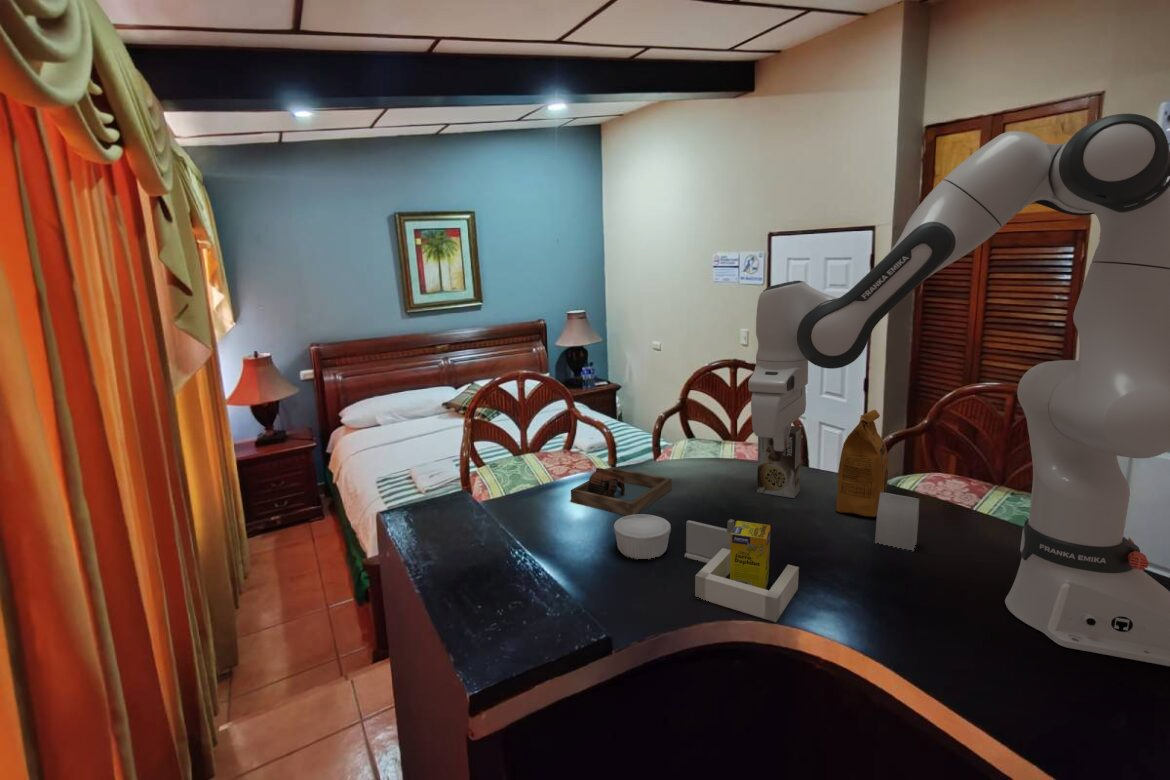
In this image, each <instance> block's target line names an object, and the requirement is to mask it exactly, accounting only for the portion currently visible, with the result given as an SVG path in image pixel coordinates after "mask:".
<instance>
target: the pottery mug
mask: <svg viewBox="0 0 1170 780" xmlns="http://www.w3.org/2000/svg"><path fill="white" fill-rule="evenodd" d="M624 479H625V477H623V476H622V475H620V474H618V473H615V472H612V471H609V469H605V468H602V467H596V469H595V472H593V473H592V474H591V475H590V477H589V479H588V481H590V482H589V484H588V489H587V490H586V491H585V492H590V493H594V494H599V495H603V496H607V497H612V498H615V494H616V492H617V489H618V488H619V489H620V495H625V492H626V485H625V482H623V481H624ZM602 482H604V484H605V485H603V486H602Z"/></svg>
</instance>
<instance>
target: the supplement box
mask: <svg viewBox="0 0 1170 780" xmlns="http://www.w3.org/2000/svg"><path fill="white" fill-rule="evenodd" d="M770 544H771V525H770V524H765V523H756V522H749V521H743V520H736V521H735V522H734V529H733V531H732V533H731V551H730V573H729V579H730V580H734V581H737V582H741V583H744V584H748V585H752V586H755V587H759V588H762V589H766V590H767V588H768V585H769V576H770V575H769V574H770V572H769V571H770V550H771V549H770V548H771V545H770Z"/></svg>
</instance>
